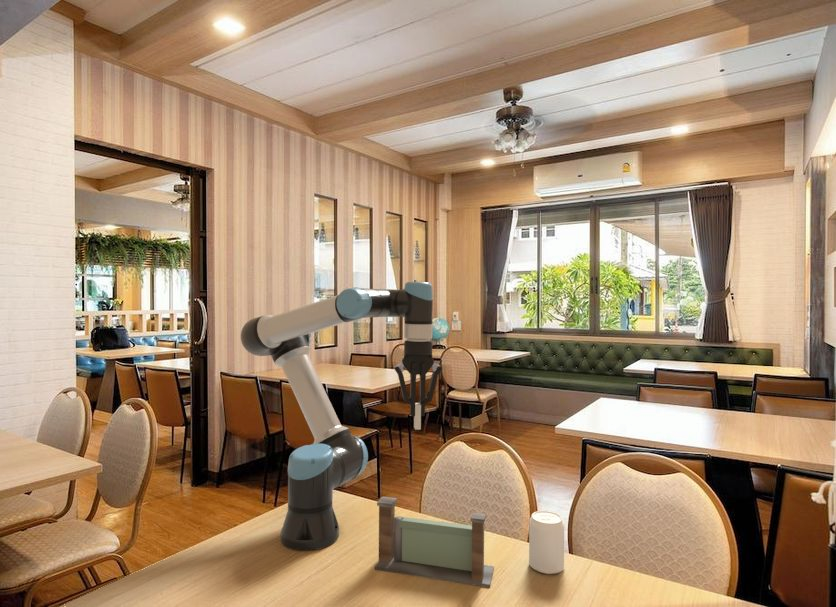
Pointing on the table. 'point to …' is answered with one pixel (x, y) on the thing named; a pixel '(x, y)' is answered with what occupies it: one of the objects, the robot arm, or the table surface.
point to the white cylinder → (546, 542)
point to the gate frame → (477, 576)
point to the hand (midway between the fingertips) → (417, 428)
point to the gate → (433, 543)
